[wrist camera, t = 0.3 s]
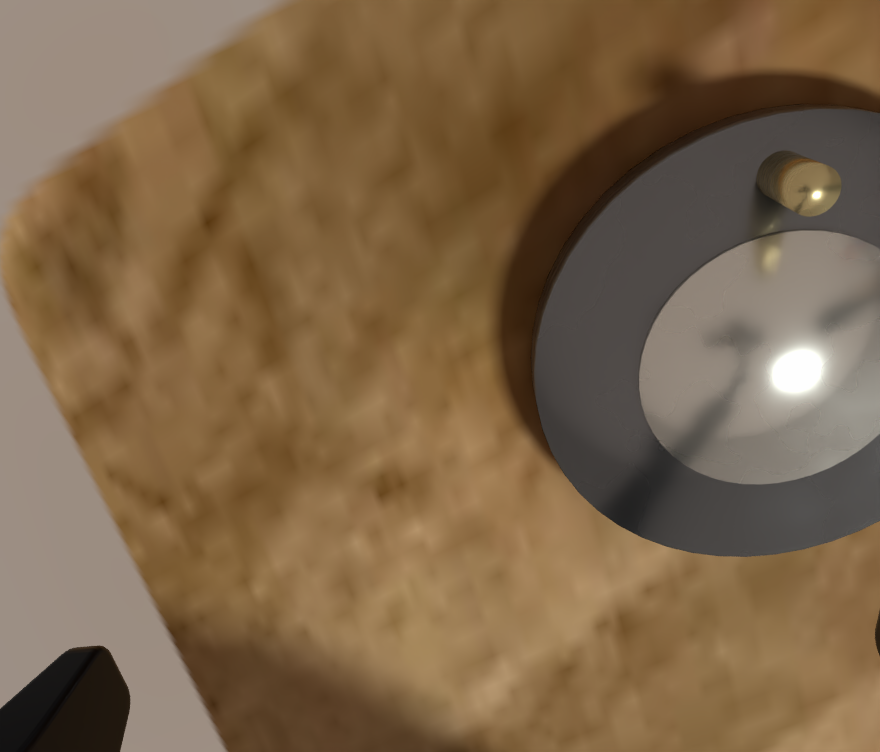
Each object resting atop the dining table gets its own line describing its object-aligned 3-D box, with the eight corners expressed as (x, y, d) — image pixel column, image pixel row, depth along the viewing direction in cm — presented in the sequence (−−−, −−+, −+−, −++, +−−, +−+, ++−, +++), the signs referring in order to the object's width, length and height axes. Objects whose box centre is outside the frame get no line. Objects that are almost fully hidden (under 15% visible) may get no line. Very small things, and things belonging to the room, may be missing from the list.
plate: (975, 503, 25) (1043, 567, 22) (558, 558, 26) (570, 625, 23) (1046, 55, 19) (1153, 62, 16) (499, 157, 20) (507, 181, 17)
